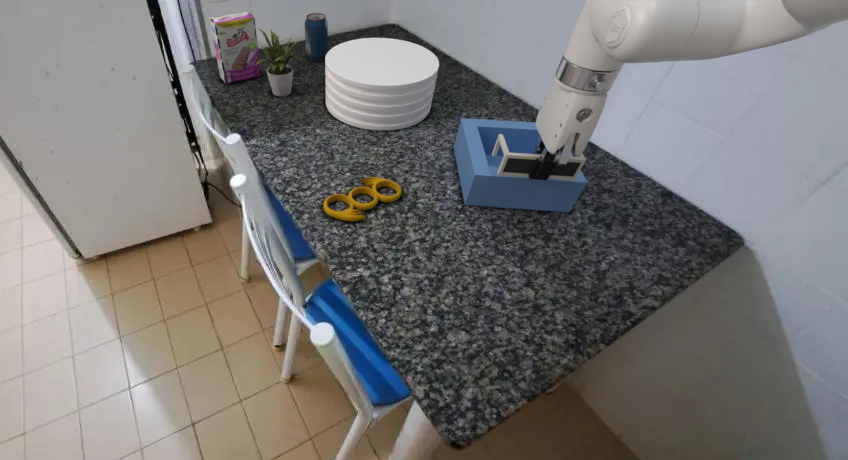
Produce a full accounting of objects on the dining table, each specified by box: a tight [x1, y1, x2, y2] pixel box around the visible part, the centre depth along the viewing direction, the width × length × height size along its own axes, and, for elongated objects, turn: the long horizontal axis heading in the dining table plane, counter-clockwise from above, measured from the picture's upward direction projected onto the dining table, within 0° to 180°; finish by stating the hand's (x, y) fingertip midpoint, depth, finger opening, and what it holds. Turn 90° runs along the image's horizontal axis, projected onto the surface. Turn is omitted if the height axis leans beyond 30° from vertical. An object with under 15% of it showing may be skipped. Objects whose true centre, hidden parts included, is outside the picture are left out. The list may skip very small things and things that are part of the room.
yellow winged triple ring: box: [322, 176, 402, 222], centre depth 77 cm, size 17×2×10 cm
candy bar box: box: [208, 11, 262, 85], centre depth 108 cm, size 11×5×16 cm, turn 122°
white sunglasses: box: [492, 134, 587, 180], centre depth 69 cm, size 6×13×4 cm, turn 84°
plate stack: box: [324, 37, 440, 131], centre depth 100 cm, size 28×28×12 cm
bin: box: [453, 117, 588, 213], centre depth 80 cm, size 20×20×8 cm
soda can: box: [304, 12, 329, 62], centre depth 120 cm, size 7×7×12 cm
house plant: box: [250, 27, 305, 97], centre depth 102 cm, size 14×14×16 cm
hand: (536, 175), depth 68 cm, fingers closed on white sunglasses, 1 cm apart
